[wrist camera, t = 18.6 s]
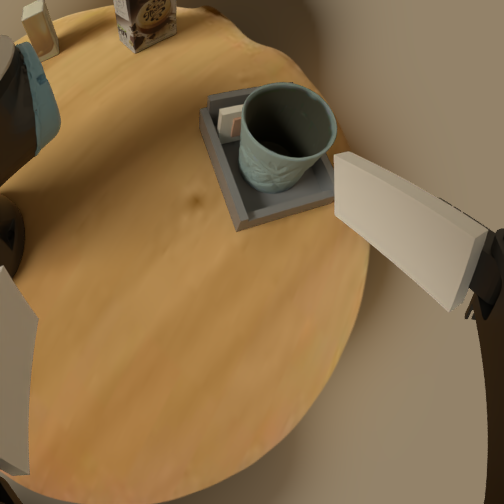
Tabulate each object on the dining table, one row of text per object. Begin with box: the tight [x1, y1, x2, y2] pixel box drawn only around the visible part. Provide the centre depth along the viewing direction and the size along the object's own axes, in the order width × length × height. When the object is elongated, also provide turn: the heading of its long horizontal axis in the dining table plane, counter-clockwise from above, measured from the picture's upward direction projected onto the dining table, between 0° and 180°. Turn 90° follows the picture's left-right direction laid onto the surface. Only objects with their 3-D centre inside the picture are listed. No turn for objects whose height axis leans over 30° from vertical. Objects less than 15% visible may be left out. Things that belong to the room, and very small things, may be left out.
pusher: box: [217, 104, 243, 144], centre depth 39 cm, size 1×11×7 cm, turn 110°
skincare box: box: [22, 0, 59, 62], centre depth 36 cm, size 6×4×12 cm
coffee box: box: [114, 0, 176, 53], centre depth 38 cm, size 9×6×16 cm
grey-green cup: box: [238, 82, 337, 194], centre depth 36 cm, size 10×10×12 cm
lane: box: [199, 82, 335, 232], centre depth 40 cm, size 16×14×7 cm
